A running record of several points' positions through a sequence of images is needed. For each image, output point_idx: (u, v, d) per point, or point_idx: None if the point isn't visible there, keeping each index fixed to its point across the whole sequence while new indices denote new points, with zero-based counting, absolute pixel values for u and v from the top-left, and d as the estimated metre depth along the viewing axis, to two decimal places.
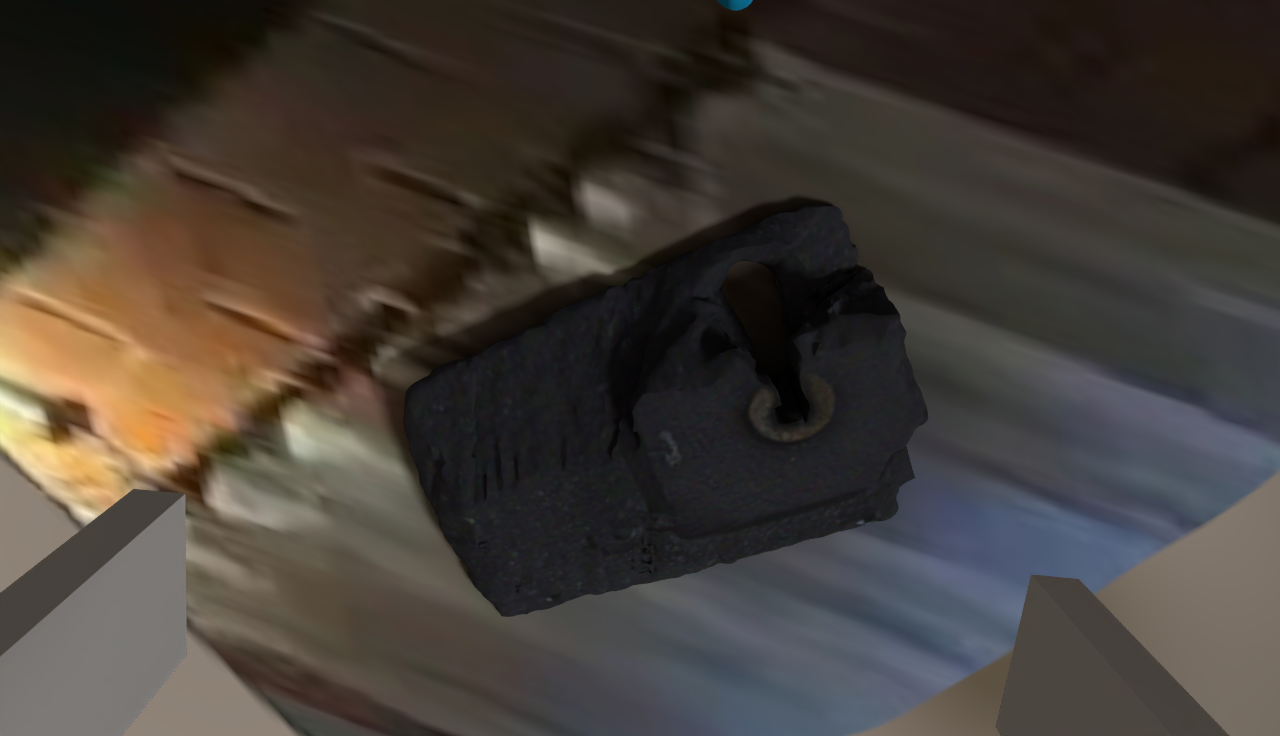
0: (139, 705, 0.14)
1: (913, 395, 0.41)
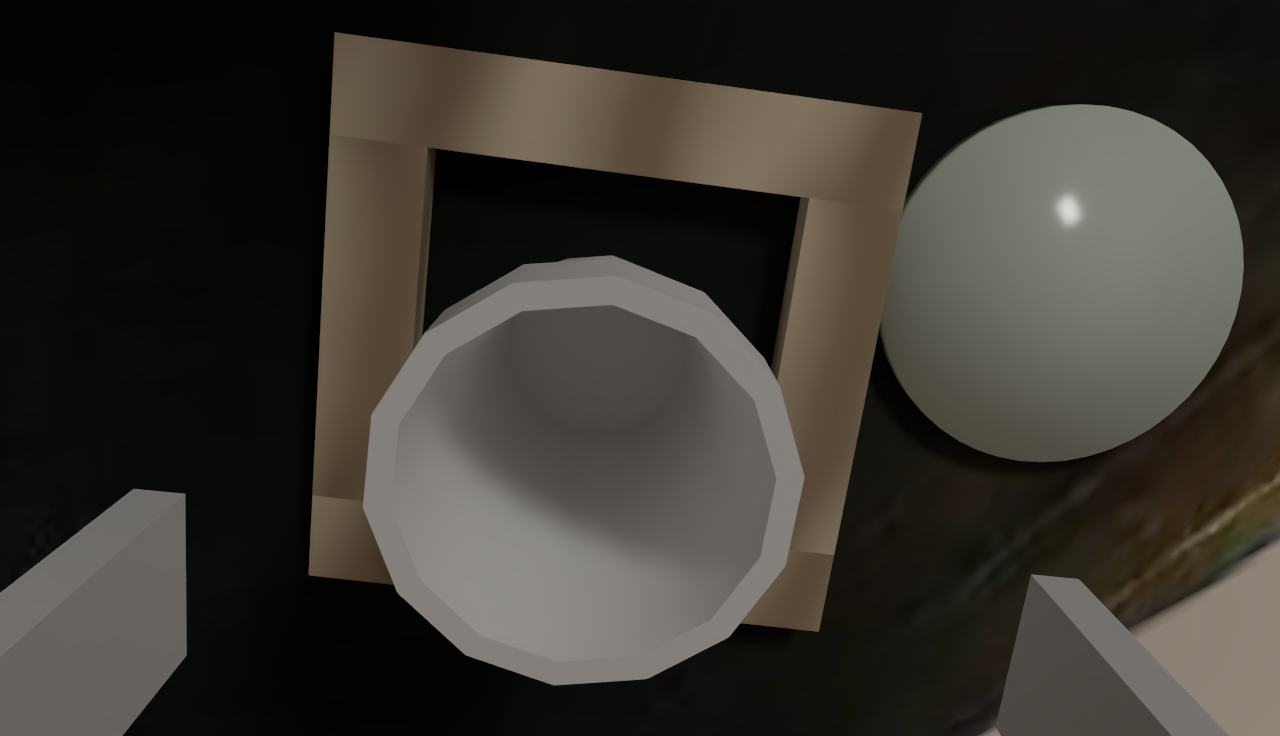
0: (139, 705, 0.14)
1: None
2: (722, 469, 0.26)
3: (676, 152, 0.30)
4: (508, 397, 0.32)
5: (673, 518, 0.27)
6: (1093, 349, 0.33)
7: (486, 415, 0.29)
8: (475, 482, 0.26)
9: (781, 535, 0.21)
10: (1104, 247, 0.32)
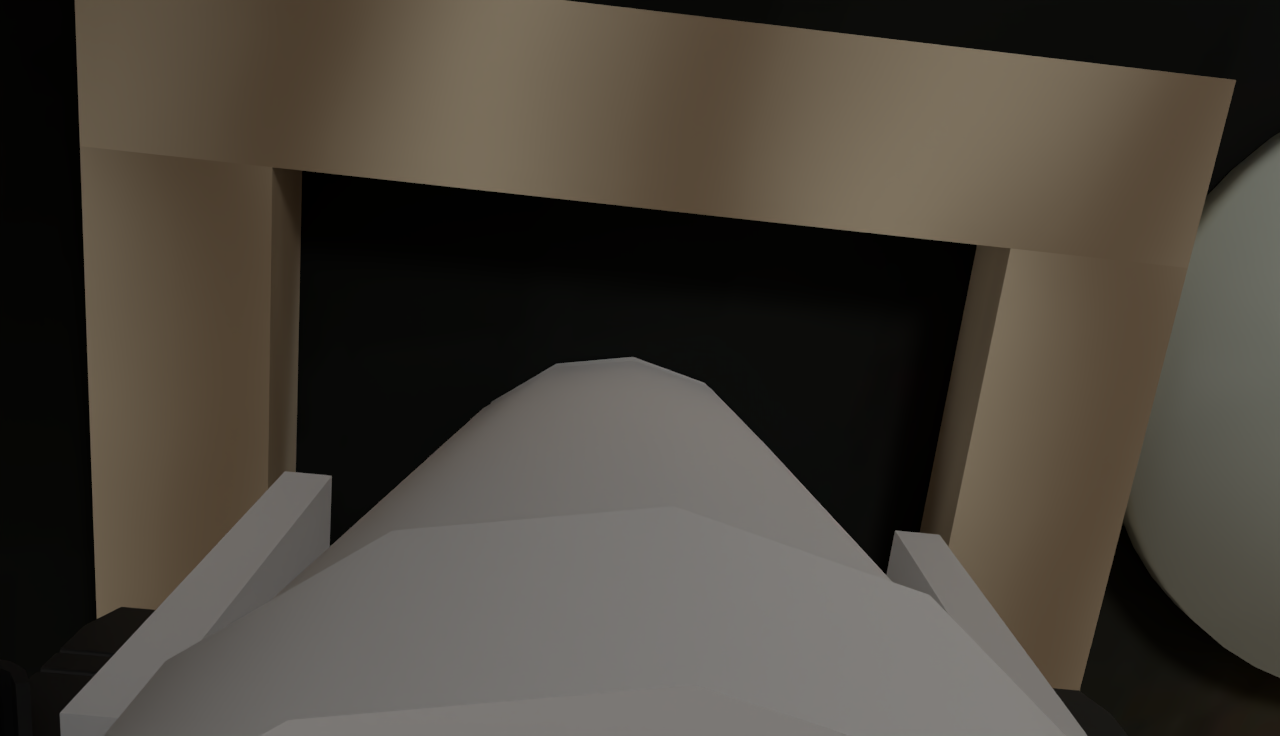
0: None
1: None
2: None
3: (756, 167, 0.16)
4: None
5: None
6: None
7: None
8: None
9: None
10: None
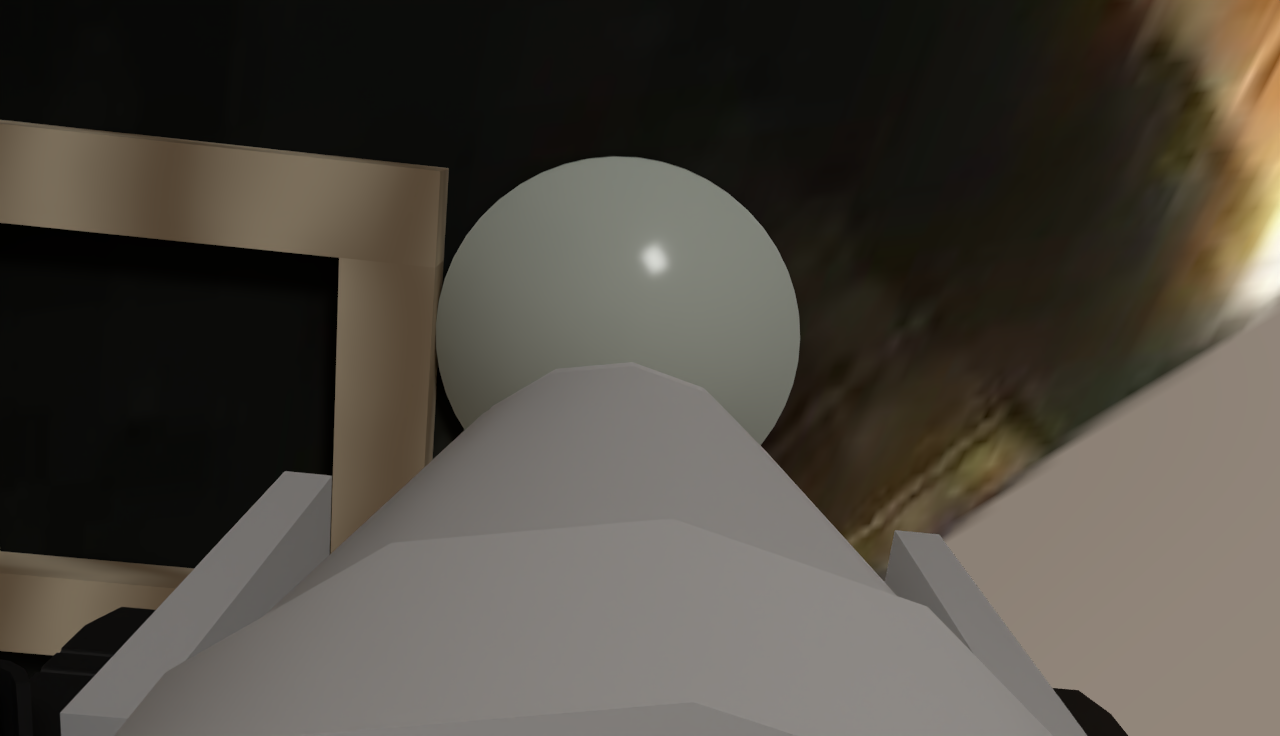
0: None
1: None
2: None
3: (198, 216, 0.30)
4: None
5: None
6: None
7: None
8: None
9: None
10: (655, 297, 0.32)
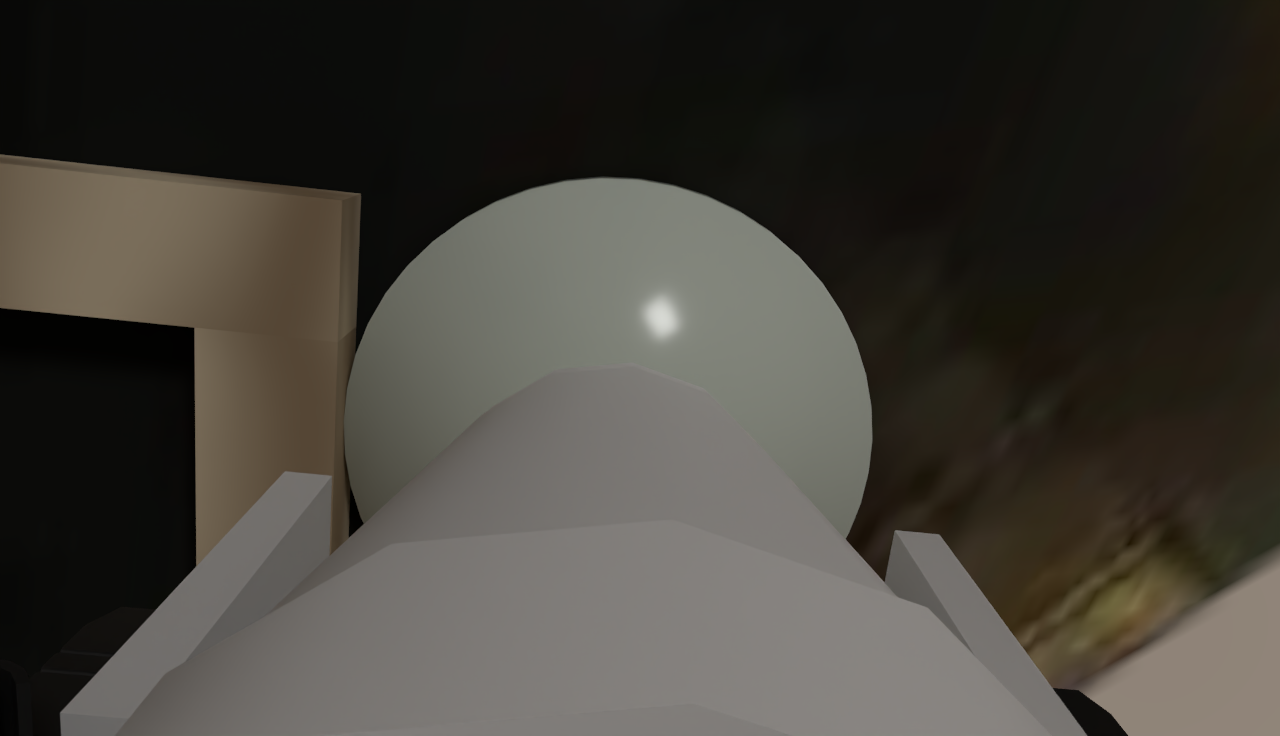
0: None
1: None
2: None
3: None
4: None
5: None
6: None
7: None
8: None
9: None
10: None
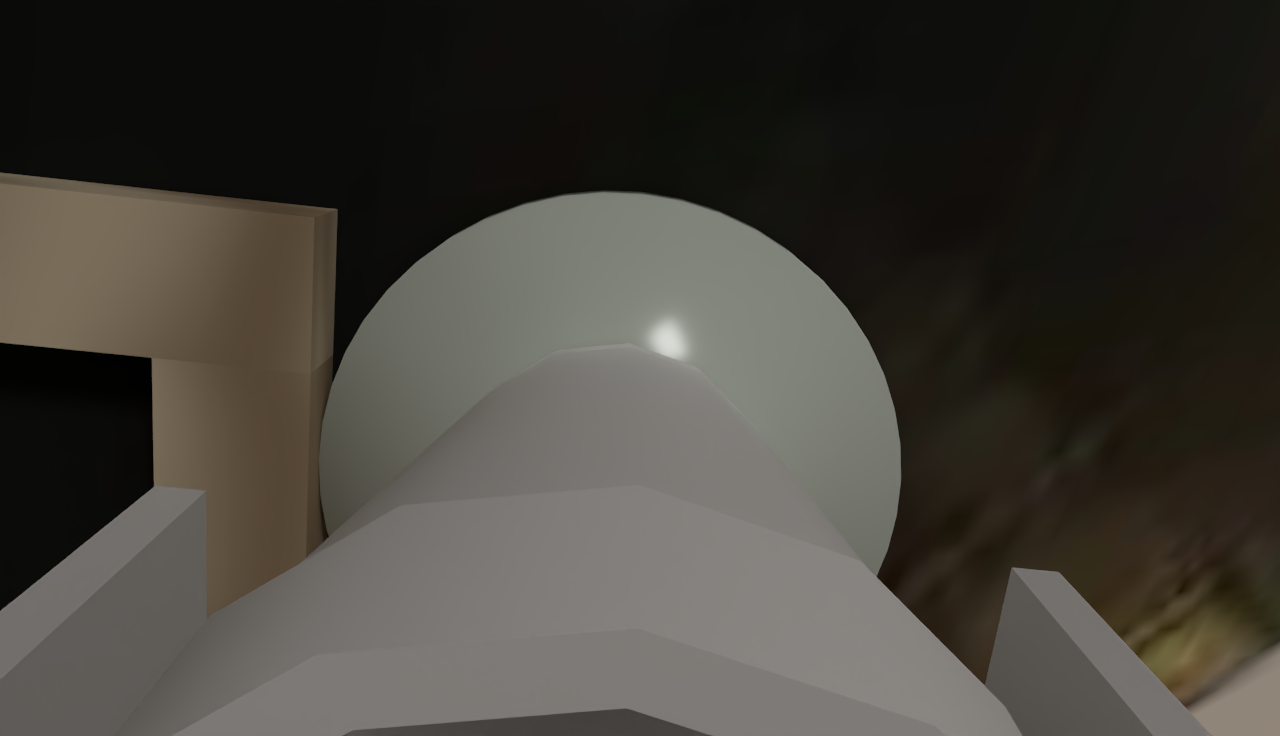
0: None
1: None
2: None
3: None
4: None
5: None
6: None
7: None
8: None
9: None
10: None
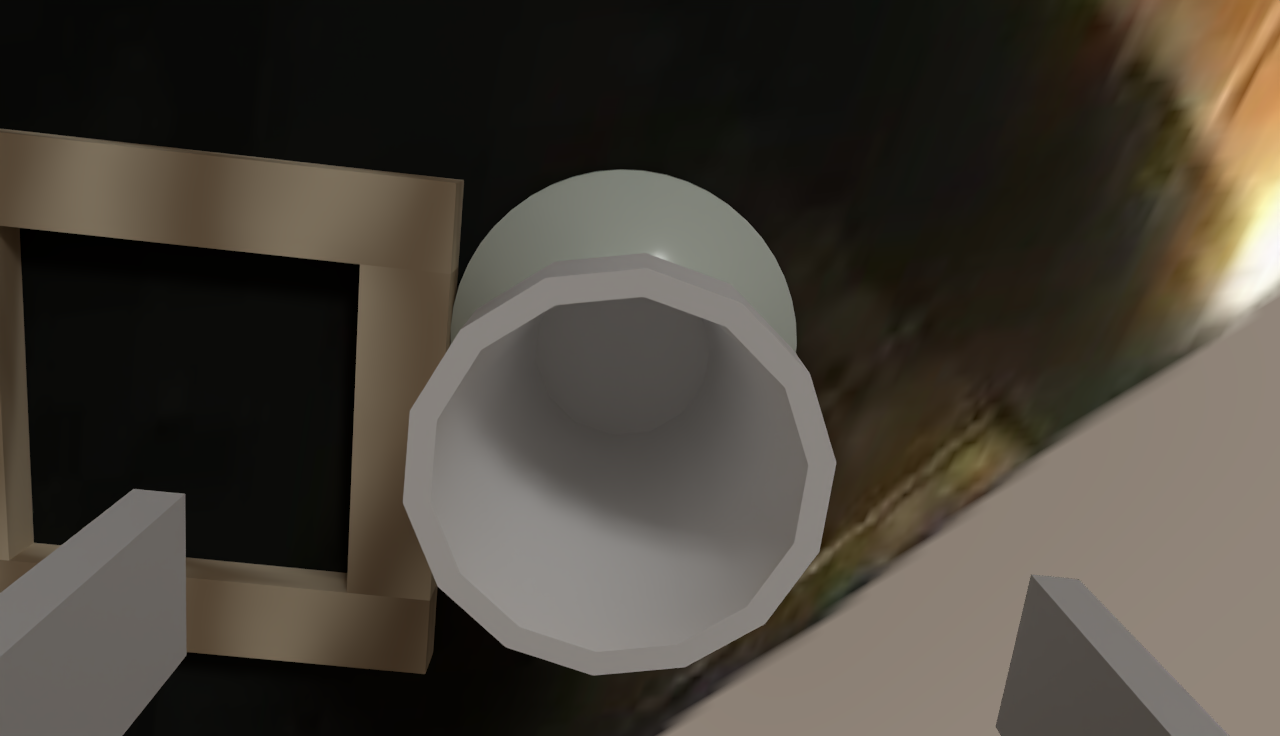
0: (139, 705, 0.14)
1: None
2: (751, 461, 0.26)
3: (227, 224, 0.32)
4: (536, 399, 0.32)
5: (703, 511, 0.27)
6: None
7: (515, 416, 0.29)
8: (508, 480, 0.27)
9: (814, 521, 0.22)
10: None
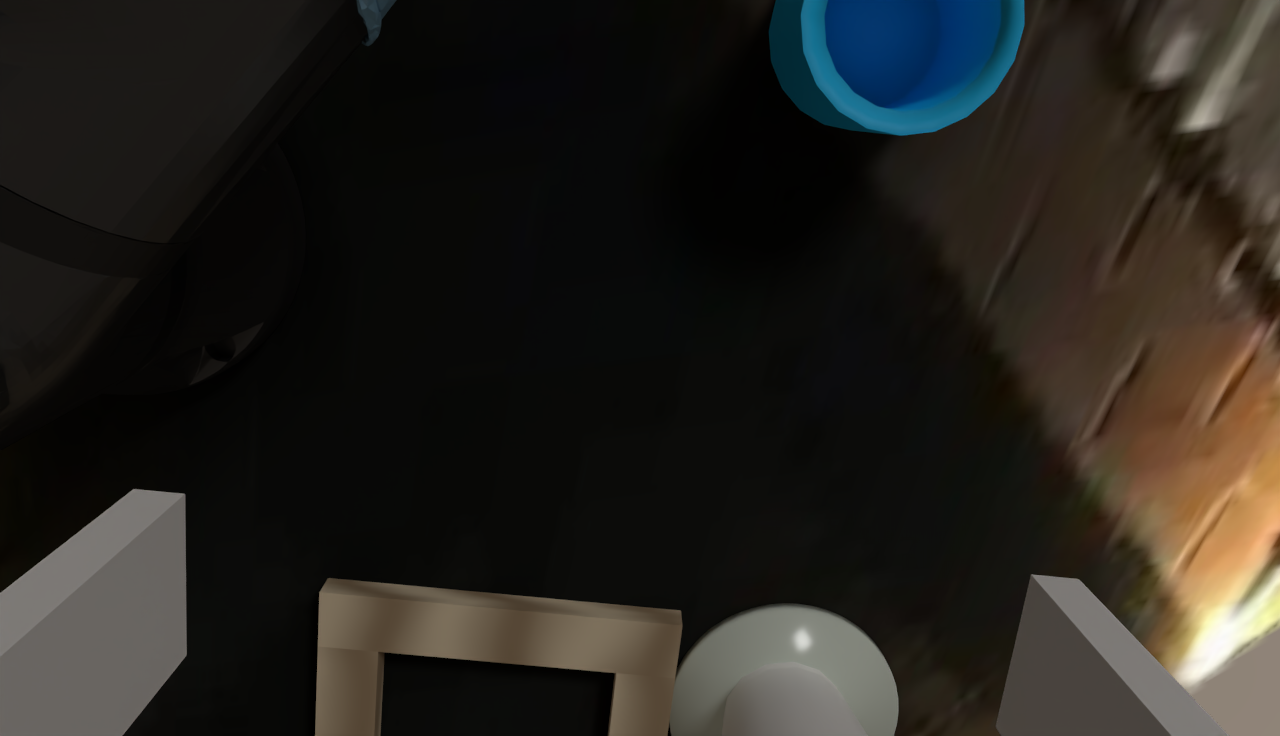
0: (139, 705, 0.14)
1: None
2: None
3: (532, 650, 0.49)
4: None
5: None
6: None
7: None
8: None
9: None
10: None
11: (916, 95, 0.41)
